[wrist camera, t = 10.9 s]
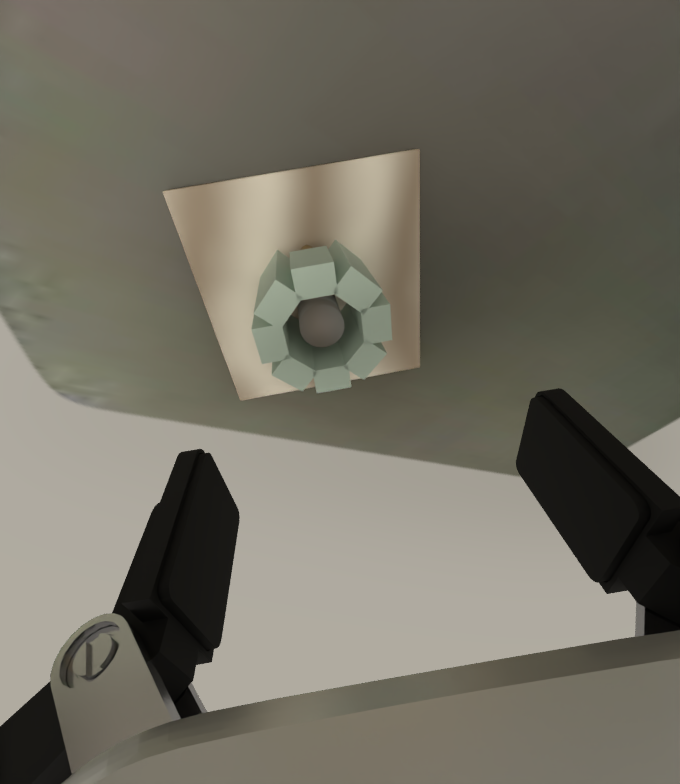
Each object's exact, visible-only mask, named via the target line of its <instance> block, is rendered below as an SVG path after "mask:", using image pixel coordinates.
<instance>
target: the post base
mask: <svg viewBox="0 0 680 784" xmlns="http://www.w3.org/2000/svg"><path fill="white" fill-rule="evenodd" d="M163 194H164V197H165V199H166V202H167V205H168V208H169V210H170V213H171V216H172V218H173V221H174V224H175V226H176V229H177V232H178V234H179V237H180V240H181V242H182V245H183V248H184V250H185V253H186V256H187V258H188V261H189V264H190V267H191V269H192V272H193V275H194V277H195V280H196V283H197V285H198V288H199V291H200V293H201V296H202V299H203V301H204V304H205V307H206V309H207V312H208V315H209V317H210V320H211V323H212V326H213V328H214V331H215V334H216V336H217V339H218V342H219V344H220V347H221V350H222V352H223V355H224V358H225V360H226V363H227V366H228V368H229V371H230V374H231V376H232V379H233V382H234V385H235V387H236V390H237V393H238V395H239V398H240V401H242V400H247V399H253V398H258V397H263V396H269V395H274V394H279V393H285V392H290V391H295V390H299V389H297V388H295V387H293V386H291V385H289V384H287V383H285V382H284V381H282V380H280V379H278V378H276V377H274V376H272V362H271V363H265V364H262V363H261V359H260V356H259V353H258V350H257V346H256V343H255V340H254V337H253V333H252V330H251V329H252V323H253V318H254V308H255V303H256V297H257V292H258V286H259V281H260V277H261V275H262V273H263V272H264V270H265V269H266V267H267V265H268V264H269V262H270V261H271V259H272V257H273V256H274V254H275V252H276V251H277V250H279V251H280V252H281V253H283V254H284V255H286V256H287V257H289V258H290V253H289V252H292V251H298V250H304V249H309V248H315V247H321V246H327V248H328V249H329V248H330V246H331V245H332V244H333V242H334V241H335V240H337V241H338V242H339V243H341V244H342V245H343V246H344V247H346V248H347V249H348V250H349V251H351V252H352V253H353V254H354V255H356V256H357V257H358V258H360V259H361V260H362V262H363V263H364V265H365V266H366V267H367V269H368V270H369V272H370V273H371V274H372V276H373V277H374V279H375V280H376V281H377V283H378V284H379V286H380V287H381V288H382V290H383V291H382V293H383V295H384V296H385V298H386V299H387V300H388V302H389V303H390V309H391V327H392V340H390V341H384V342H381V343H382V345H383V347H384V349H385V350H386V352H387V354H386V356H385V357H384V358H383V359H382V360H381V361H380V362H379V364H378V365H377V366H376V367H375V368H374V369H373V370H372V372H371V373H370V374H369V375H368V376H367V377H370V376H376V375H381V374H386V373H392V372H397V371H402V370H408V369H413V368H419V367H420V149H411V150H405V151H399V152H393V153H387V154H381V155H375V156H369V157H363V158H357V159H351V160H345V161H339V162H333V163H327V164H321V165H315V166H309V167H303V168H297V169H291V170H285V171H279V172H273V173H267V174H261V175H255V176H249V177H243V178H237V179H231V180H225V181H219V182H213V183H206V184H200V185H194V186H188V187H182V188H176V189H170V190H166V191H163ZM345 305H346V302H345V301H343V300H342V299H341V298H339V297H338V296H336V295H335V294H334V295H328V296H323V297H317V298H312V299H306V300H301V301H300V302H299V304H298V305H297V307H296V308H295V310H294V311H293V312H292V314H291V315H292V316H294V317H295V318H297V319H298V320H299V326H300V332H301V335H302V337H303V339H304V340H305V341H306V342H307V343H309V344H310V345H312V346H315V347H327V346H330V345H333V344H334V343H336V342H337V341H338V340H339V339H340V338H341V336H342V334H343V332H344V320H343V317H342V314H341V312H340V311H341V310H342V309H343V307H344V306H345ZM349 373H350V380H354V379H360V377H358V376H357V375H355V374H353V373H352V372H350V371H349ZM311 387H315V382H314V378H313V379H312V380H311V382H310V383H309V384H308V385H307V387H306V388H311ZM306 388H305V389H306Z"/></svg>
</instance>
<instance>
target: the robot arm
mask: <svg viewBox="0 0 680 784" xmlns="http://www.w3.org/2000/svg"><path fill="white" fill-rule="evenodd" d="M516 467H517V470H518V472H519V474H520V475H521V477H522V478H523V480H524V481H525V483H526V484H527V486H528V487H529V489H530V490H531V492H532V493H533V494H534V496H535V498H536V499H537V501H538V502H539V503H540V505H541V506H542V508H543V509H544V511H545V512H546V514H547V515H548V517H549V518H550V520H551V521H552V523H553V524H554V525H555V527H556V529H557V530H558V532H559V533H560V535H561V536H562V537H563V539H564V540H565V542H566V543H567V545H568V546H569V548H570V549H571V551H572V552H573V554H574V555H575V557H576V558H577V559H578V561H579V563H580V564H581V566H582V567H583V568H584V570H585V571H586V573H587V574H588V576H589V577H590V578H591V579H592V580H593V581H595V582H599V583H600V585H601V586H602V588H603V589H604V590H605V592H606V593H607V594H609V593H615V592H621V591H627V590H628V591H629V592H630V593H631V595H632V596H633V597H634V599H635V600H636V629H635V630H636V631H635V637H631V638H624V639H618V640H612V641H606V642H600V643H594V644H588V645H582V646H576V647H570V648H565V649H558V650H552V651H546V652H540V653H534V654H528V655H523V656H516V657H511V658H505V659H499V660H493V661H488V662H482V663H476V664H470V665H465V666H459V667H453V668H447V669H441V670H435V671H430V672H424V673H419V674H412V675H407V676H401V677H395V678H389V679H384V680H378V681H373V682H368V683H361V684H356V685H350V686H344V687H339V688H333V689H328V690H322V691H316V692H311V693H305V694H300V695H294V696H289V697H283V698H277V699H272V700H267V701H262V702H257V703H252V704H247V705H242V706H237V707H232V708H226V709H222V710H217V711H212V712H207V711H206V709H205V707H204V705H203V703H202V702H201V700H200V698H199V696H198V695H197V693H196V691H195V689H194V687H193V685H192V683H191V682H192V681H193V678H194V673H195V667H196V665H198V664H204V663H209V662H212V657H213V650H214V649H215V648H218V647H219V645H220V642H221V638H222V631H223V625H224V618H225V612H226V605H227V599H228V592H229V585H230V579H231V572H232V565H233V559H234V552H235V545H236V539H237V532H238V526H239V511H238V508H237V506H236V504H235V502H234V500H233V498H232V496H231V494H230V492H229V490H228V488H227V486H226V484H225V482H224V480H223V478H222V476H221V474H220V472H219V470H218V468H217V466H216V464H215V462H214V460H213V458H212V456H211V454H210V453H205V452H204V451H203V450H202V449H197V450H191V451H185V452H181V453H179V455H178V457H177V459H176V462H175V464H174V467H173V470H172V472H171V475H170V478H169V481H168V483H167V485H166V488H165V491H164V493H163V496H162V499H161V501H160V503H158V504H157V505H156V506H155V507H154V509H153V511H152V513H151V515H150V518H149V520H148V523H147V526H146V528H145V531H144V533H143V536H142V538H141V541H140V543H139V546H138V548H137V551H136V554H135V556H134V559H133V561H132V564H131V566H130V569H129V571H128V574H127V577H126V579H125V582H124V584H123V587H122V589H121V592H120V594H119V597H118V600H117V602H116V605H115V607H114V610H113V612H112V613H111V614H103V615H100V616H98V617H95V618H93V619H91V620H90V621H88V622H87V623H85V624H84V625H82V626H81V627H80V628H79V629H78V630H77V631H76V632H75V633H73V634H72V635H71V637H70V638H69V639H68V640H67V642H66V643H65V644H64V645H63V647H62V648H61V650H60V651H59V654H58V655H57V657H56V659H55V661H54V664H53V667H52V671H51V675H50V677H51V681H50V682H49V683H48V684H47V685H46V686H45V687H43V688H42V689H41V690H40V691H39V692H38V693H37V694H36V695H35V696H33V697H32V698H31V699H30V700H29V701H28V702H27V703H26V704H25V705H24V706H22V707H21V708H20V709H19V710H18V711H17V712H16V713H15V714H14V715H13V716H11V717H10V718H9V719H8V720H7V721H6V722H5V723H4V724H3V725H1V726H0V784H680V496H678V495H677V494H676V493H675V492H674V491H673V490H672V489H671V488H670V487H669V486H667V485H666V484H665V483H664V482H663V481H662V480H661V479H660V478H659V477H658V476H657V475H655V473H653V472H652V471H651V470H650V469H649V468H648V467H647V466H646V465H645V464H644V463H643V462H641V461H640V460H639V459H638V458H637V457H636V456H635V455H634V454H633V453H632V452H631V451H629V450H628V449H627V448H626V447H625V446H624V445H623V444H622V443H621V442H620V441H619V440H618V439H616V438H615V437H614V436H613V435H612V434H611V433H610V432H609V431H608V430H607V429H606V428H605V427H603V426H602V425H601V424H600V423H599V422H598V421H597V420H596V419H595V418H594V417H593V416H591V415H590V414H589V413H588V412H587V411H586V410H585V409H584V408H583V407H582V406H581V405H580V404H578V403H577V402H576V401H575V400H574V399H573V398H572V397H571V396H570V395H569V394H568V393H566V392H565V391H564V390H563V389H559V388H558V389H552V390H547V391H541V392H538V393H537V394H536V396H535V398H532V399H531V401H530V405H529V409H528V413H527V417H526V422H525V426H524V430H523V434H522V438H521V443H520V447H519V451H518V455H517V460H516Z"/></svg>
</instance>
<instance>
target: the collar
mask: <svg viewBox="0 0 680 784" xmlns="http://www.w3.org/2000/svg"><path fill="white" fill-rule="evenodd" d="M289 253H290V258H289V257H287V256H286V255H284V254H283V253H281V252H280V251H279V250H277V251H276V252H275V254H274V256H273V257H272V259H271V261H270V262H269V264H268V265H267V267H266V269H265V270H264V272H263V273H262V275H261V277H260V281H259V286H258V292H257V297H256V303H255V308H254V318H253V323H252V329H251V330H252V333H253V337H254V340H255V343H256V346H257V350H258V353H259V356H260V359H261V363H262V364H265V363H271V362H272V376H274V377H276V378H278V379H280V380H282V381H284V382H285V383H287V384H289V385H291V386H293V387H295V388H297V389H299V390H301V391H302V392H303V390H304V389H305V388H306V387H307V385H308V384H309V383H310V382H311V380H312V379H313V378H314V382H315V387H316V391H317V393H323V392H328V391H333V390H339V389H344V388H349V387H351V380H350V373H349V371H350V372H352V373H353V374H355V375H357V376H358V377H360V378H362V379H363V380H365V378H366V377H367V376H368V375H369V374H370V373H371V372H372V370H373V369H374V368H375V367H376V366H377V365H378V364H379V362H380V361H381V360H382V359H383V358H384V357H385V356H386V354H387V352H386V350H385V349H384V347H383V345H382V343H381V342H384V341H390V340H392V327H391V309H390V303H389V302H388V300H387V299H386V298H385V296H384V295H383V293H382V291H383V290H382V288H381V287H380V286H379V284H378V283H377V281H376V280H375V279H374V277H373V276H372V274H371V273H370V272H369V270H368V269H367V267H366V266H365V265H364V263H363V262H362V260H361V259H360V258H358V257H357V256H356V255H354V254H353V253H352V252H351V251H349V250H348V249H347V248H346V247H344V246H343V245H342V244H341V243H339V242H338V241H337V240H335V241H334V242H333V244H332V245H331V246H330V248H329V249H328V248H327V246H321V247H315V248H309V249H304V250H298V251H292V252H289ZM334 294H335V295H336V296H338V297H339V298H341V299H342V300H343V301H345V302H346V305H345V306H344V307H343V309H342V310H341V311H340V312H341V314H342V317H343V320H344V332H343V334H342V336H341V338H340V339H339V340H338V341H337V342H336V343H334V344H333V345H330V346H327V347H315V346H312V345H310V344H309V343H307V342H306V341H305V340H304V339H303V337H302V335H301V332H300V326H299V320H298V319H297V318H295V317H294V316H292V315H291V314H292V312H293V311H294V310H295V308H296V307H297V305H298V304H299V302H300V301H301V300H306V299H312V298H317V297H323V296H328V295H334Z"/></svg>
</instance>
